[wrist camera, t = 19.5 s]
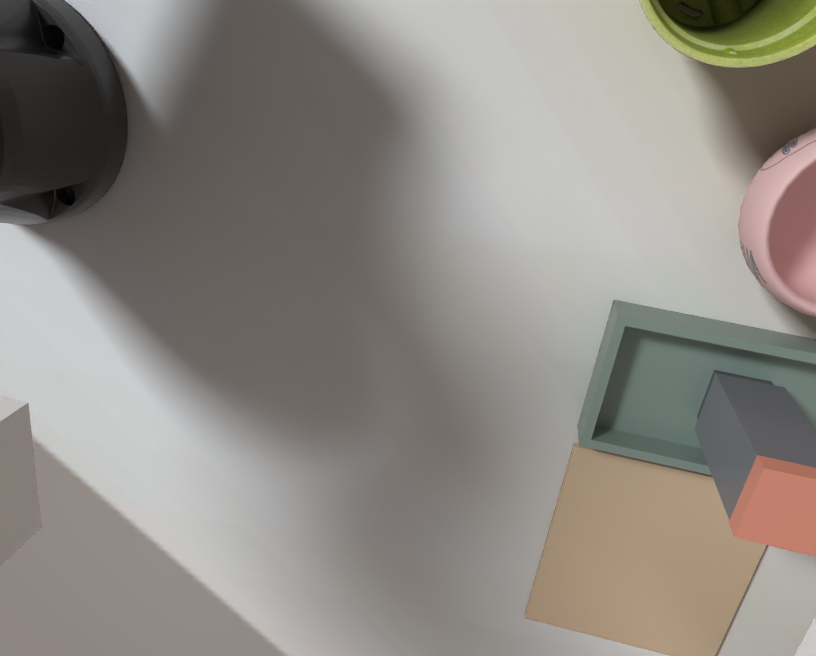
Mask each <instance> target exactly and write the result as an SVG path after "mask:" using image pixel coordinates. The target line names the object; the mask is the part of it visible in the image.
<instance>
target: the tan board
mask: <svg viewBox="0 0 816 656" xmlns="http://www.w3.org/2000/svg"><path fill="white" fill-rule="evenodd" d="M766 546H767V545H765V544H761V543H757V542H752V541H748V540H744V539H740V538H735V537H734V536H733V533H732V530H731V528H730V525H729V518H728V516H727V513H726V511H725V508H724V505H723V503H722V500H721V498H720V495H719V492H718V490H717V487H716V485H715V482H714V479H713V477H712V475H708V474H703V473H699V472H694V471H690V470H686V469H681V468H677V467H672V466H668V465H663V464H659V463H654V462H650V461H646V460H641V459H637V458H632V457H628V456H623V455H619V454H614V453H610V452H605V451H601V450H597V449H592V448H588V447H583V446H579V444H575V443H574V446H573V449H572V453H571V456H570V460H569V463H568V467H567V470H566V474H565V477H564V481H563V484H562V488H561V491H560V494H559V498H558V501H557V505H556V508H555V512H554V515H553V519H552V522H551V526H550V529H549V533H548V536H547V540H546V543H545V546H544V550H543V553H542V557H541V560H540V564H539V567H538V571H537V574H536V578H535V581H534V585H533V588H532V592H531V595H530V599H529V602H528V605H527V609H526V612H525V618H527V619H531V620H535V621H539V622H542V623H546V624H550V625H554V626H558V627H562V628H566V629H569V630H573V631H577V632H581V633H585V634H589V635H593V636H596V637H600V638H604V639H608V640H612V641H616V642H620V643H624V644H627V645H631V646H635V647H639V648H643V649H647V650H651V651H654V652H658V653H662V654H666V655H670V656H715V655H716V653H717V651H718V649H719V647H720V644H721V642H722V640H723V638H724V636H725V634H726V632H727V629H728V627H729V625H730V623H731V621H732V619H733V617H734V614H735V612H736V610H737V608H738V606H739V604H740V601H741V599H742V597H743V595H744V593H745V591H746V589H747V586H748V584H749V582H750V580H751V578H752V576H753V573H754V571H755V569H756V567H757V565H758V563H759V561H760V558H761V556H762V554H763V552H764V550H765V548H766Z"/></svg>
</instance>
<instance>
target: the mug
mask: <svg viewBox="0 0 816 656" xmlns="http://www.w3.org/2000/svg"><path fill="white" fill-rule="evenodd" d="M738 227H739V237H740V245H741V250H742V252H743V255H744V258H745V261H746V264H747V266H748V267H749V269H750V270H751V272H752V273H753V275H754V276H755V277H756V279H757V280H758V282H759V283H760V284H761V285H762V286H763V287H764V288H765V289H766V290H767V291H768V292H769V293H770V294H772V295H773V296H774V297H775V298H776V299H777V300H779V301H780V302H781V303H783V304H785V305H787V306H789V307H791V308H792V309H794V310H796V311H798V312H800V313H803V314H806V315H809V316H812V317H816V127H815V128H812V129H810V130H808V131H806V132H804V133H802V134H801V135H799V136H797V137H795V138H793V139H791V140H790V141H789V142H787V143H786V144H785V145H784V146H782V147H781V148H780V149H778V150H777V151H776V152H775V153H773V154H772V156H771V157H770V158H769V159H768V160H767V161H766V162H765V163H764V164H763V166H762V167H761V168H760V169H759V170H758V172H757V173H756V175H755V177H754V178H753V180H752V182H751V183H750V185H749V186H748V188H747V191H746V194H745V197H744V199H743V202H742V205H741V209H740V217H739V224H738Z"/></svg>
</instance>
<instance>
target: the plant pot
mask: <svg viewBox="0 0 816 656" xmlns="http://www.w3.org/2000/svg"><path fill="white" fill-rule="evenodd" d="M639 1H640V4H641V6H642V9H643V11H644V13H645V15H646V17H647V19H648V20H649V22H650V23H651V25H652V27H653V28H654V29H655V30H656V32H657V33H658V34H659V35H660V36H661V37H662V38H663V39H664V40H665V41H666V42H667V43H668V44H669V45H671V46H672V47H673V48H675V49H676V50H677V51H679V52H680V53H682V54H684V55H686V56H688V57H690V58H692V59H694V60H697V61H699V62H703V63H706V64H710V65H714V66H720V67H729V68H748V67H757V66H763V65H768V64H772V63H776V62H779V61H782V60H785V59H788V58H790V57H793V56H796V55H798V54H800V53H802V52H804V51H806V50H808V49H810V48H812V47H813V46H815V45H816V0H639ZM680 2H682V3H683V4H685V5H687V6H688V7H691V8H693V9H696V10H701V11H702V12H703V15H702V16H700V17H692V16H690V15H688V14H685V13H683V12H681V11H680V10H679V9H678V6H677V4H678V3H680Z"/></svg>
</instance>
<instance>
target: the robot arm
mask: <svg viewBox="0 0 816 656" xmlns="http://www.w3.org/2000/svg"><path fill="white" fill-rule="evenodd" d="M126 141H127V115H126V107H125V101H124V96H123V92H122V88H121V85H120V82H119V79H118V76H117V73H116V71H115V68H114V66H113V64H112V61H111V59H110V57H109V55H108V53H107V52H106V50H105V48H104V46H103V45H102V43H101V41H100V40H99V38H98V37H97V35H96V34H95V33H94V31H93V30H92V29H91V27H90V26H89V25H88V24H87V22H86V21H85V20H84V19H83V18H82V17H81V16H80V15H79V14H78V13H77V12H76V11H75V10H74V9H73V8H72V7H71V6H70V5H69V4H67V3H66V2H65V1H64V0H0V223H11V224H22V225H32V224H42V223H48V222H52V221H56V220H59V219H62V218H65V217H68V216H71V215H73V214H76V213H79V212H81V211H83V210H85V209H87V208H89V207H90V206H92V205H93V204H94V203H96V202H97V201H98V200H99V199H100V198H101V197H102V196H103V195H104V194H105V193H106V192H107V191H108V189H109V188H110V187H111V185H112V183H113V182H114V180H115V178H116V176H117V174H118V172H119V170H120V167H121V164H122V161H123V158H124V153H125V148H126ZM41 528H42V523H41V514H40V505H39V496H38V487H37V478H36V469H35V460H34V450H33V441H32V432H31V423H30V414H29V405H28V402H24V401H19V400H15V399H11V398H7V397H3V396H0V566H2V565H3V564H4V563H5V562H6V561H7V560H8V559H9V558H10V557H11V556H12V555H13V554H14V553H15V552H17V551H18V549H20V548H21V547H22V546H23V545H24V544H25V543H26V542H27V541H28V540H29V539H30V538H31V537H32V536H33V535H35V533H37V532H38V531H39V530H40V529H41ZM795 656H816V616H815V618H814V620H813V622H812V624H811V626H810V628H809V629H808V631H807V633H806V635H805V637H804V639H803V641H802V643H801V644H800V646H799V648H798V650H797V652H796V654H795Z"/></svg>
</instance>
